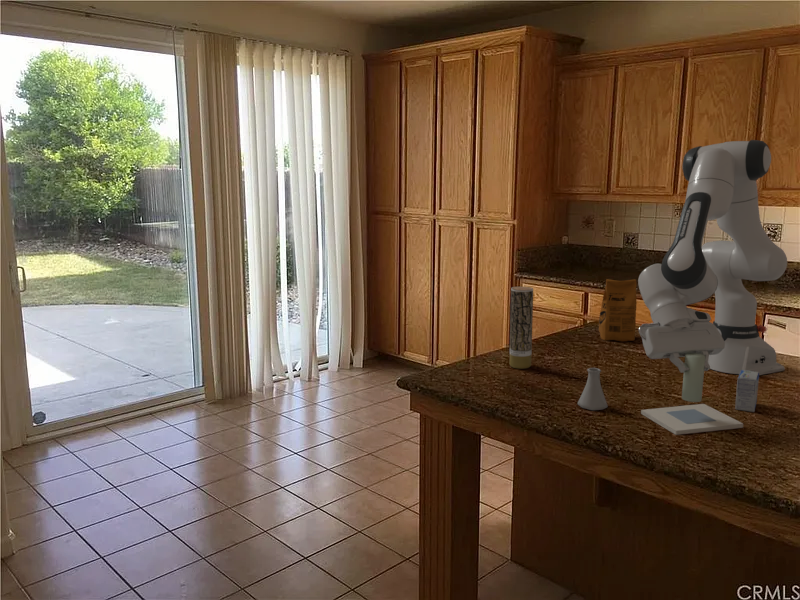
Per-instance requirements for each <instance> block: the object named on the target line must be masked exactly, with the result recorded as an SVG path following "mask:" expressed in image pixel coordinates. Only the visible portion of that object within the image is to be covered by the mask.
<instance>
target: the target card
mask: <svg viewBox="0 0 800 600" xmlns="http://www.w3.org/2000/svg"><path fill="white" fill-rule="evenodd" d="M640 414H641V415H642V416H644V417H646V418H647V419H649V420H650V421H652V422H654V423H655V424H657V425H659V426H661V427H662V428H664V429H666V430H667V431H669V432H670V433H672V434H673V435H675V436H677V435H687V434H688V435H689V434H695V433H704V432H705V433H707V432H714V431H725V430H733V429H742V428H744V423H743V422H741V421H739V420H737V419H735V418H733V417H731V416H728V415H727V414H725V413H723V412H721V411H719V410H717V409H715V408H713V407H711V406H710V405H708V404H705V403H699V404H698V403H697V404H688V405H687V404H686V405H678V406H677V405H676V406H668V407H659V408H656V407H655V408H648V409H640Z"/></svg>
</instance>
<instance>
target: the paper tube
mask: <svg viewBox="0 0 800 600" xmlns="http://www.w3.org/2000/svg"><path fill="white" fill-rule="evenodd" d="M509 310H510V317H509V318H510V319H509V321H510V322H509V366H510V367H511V368H513V369H518V370H519V369H521V370H524V369H529V368H530V367H531V366H532V352H533V351H532V348H533V347H532V346H533V340H532V339H533V319H534V318H533V313H534V288H533V287H530V286H512V287H511V288H510V309H509Z"/></svg>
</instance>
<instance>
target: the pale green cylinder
mask: <svg viewBox="0 0 800 600" xmlns="http://www.w3.org/2000/svg"><path fill="white" fill-rule="evenodd" d="M684 363H687V365H688V367H689V370H688V371H687V372H684V373H683V376H682V377H683V378H682V379H683V380H682V390H681V400H683V401H686V402H689V403H699V402H702V399H703V389H704V388H703V387H704V376H705V375H704V374H705V371H704V366H705V355H703V354H698V353H686V354H685V357H684Z"/></svg>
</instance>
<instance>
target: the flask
mask: <svg viewBox="0 0 800 600" xmlns="http://www.w3.org/2000/svg"><path fill="white" fill-rule="evenodd" d="M586 370H587V373H588V375H587V380H586V384H585V386H584V389H583V391H582V393H581V395H580V396H579V397H580V398H579V399H578V401H577V405H578V406H580V408H582V409H587V410H589V411H599V410H601V411H602V410H605V409H606V408H608V405H609V404H608V403H607V400H606V397H605V394H604V391H603V387H602V385H601V378H600V373H602V370H601V369H600V368H597V367H590V368H587V369H586Z"/></svg>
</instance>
